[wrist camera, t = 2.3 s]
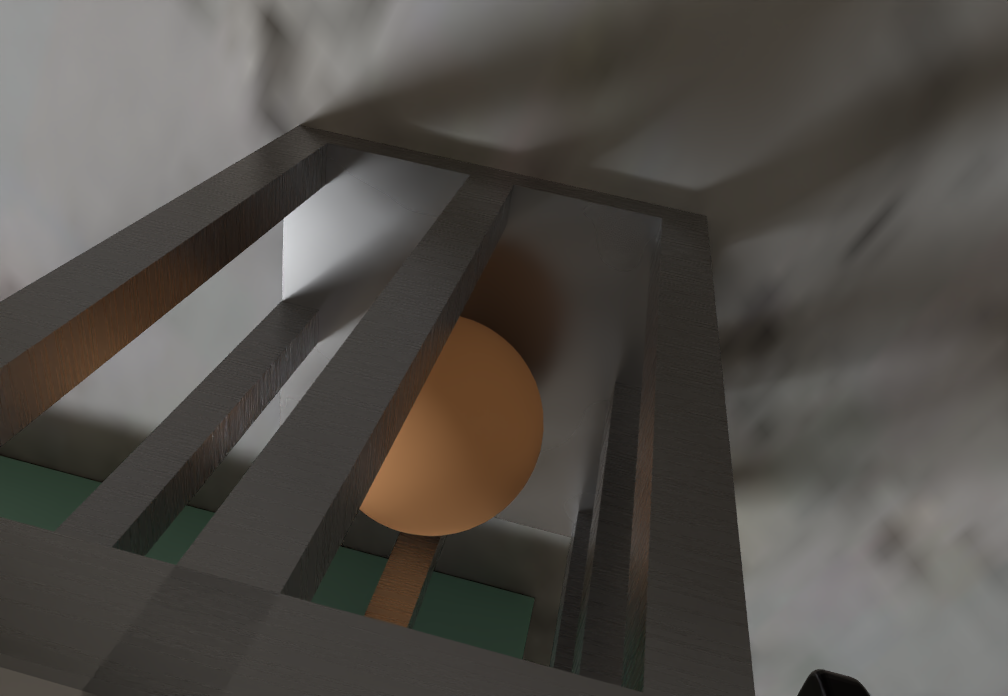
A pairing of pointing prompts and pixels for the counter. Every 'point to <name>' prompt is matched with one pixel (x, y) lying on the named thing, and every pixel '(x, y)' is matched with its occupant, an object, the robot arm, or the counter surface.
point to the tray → (345, 585)
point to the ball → (462, 439)
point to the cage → (384, 438)
